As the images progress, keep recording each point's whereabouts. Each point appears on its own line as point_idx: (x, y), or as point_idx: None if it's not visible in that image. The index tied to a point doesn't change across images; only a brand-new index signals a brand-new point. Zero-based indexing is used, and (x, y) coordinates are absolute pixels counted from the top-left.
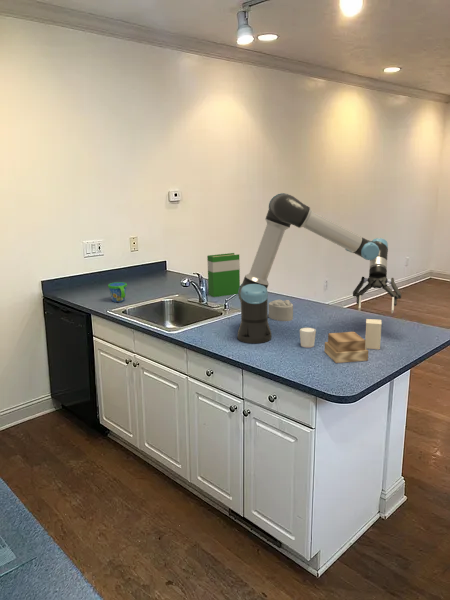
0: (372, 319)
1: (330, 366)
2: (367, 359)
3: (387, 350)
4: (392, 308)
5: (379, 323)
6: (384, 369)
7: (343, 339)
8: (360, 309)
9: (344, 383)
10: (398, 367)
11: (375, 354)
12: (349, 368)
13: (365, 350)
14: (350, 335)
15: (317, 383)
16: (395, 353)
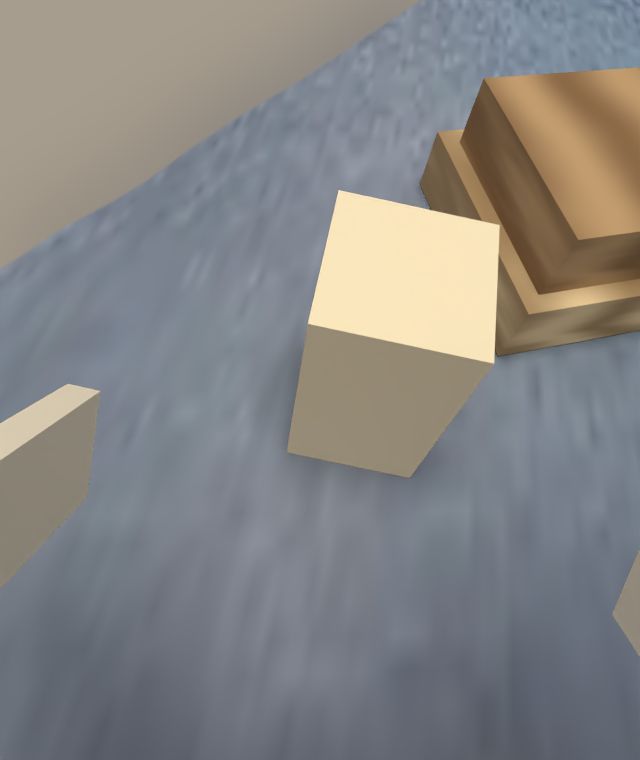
0: (419, 340)
1: None
2: (424, 179)
3: (256, 329)
4: (75, 396)
5: (357, 207)
6: (346, 90)
7: (637, 101)
8: (632, 604)
9: (534, 5)
10: (265, 103)
11: None
12: None
13: (456, 136)
14: (598, 164)
15: (637, 14)
16: (215, 276)
